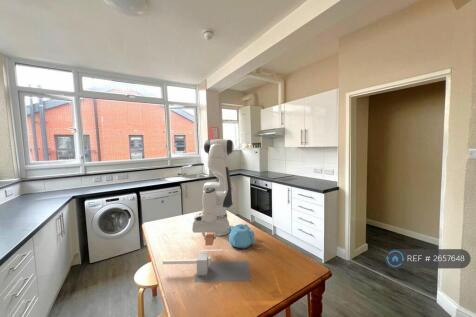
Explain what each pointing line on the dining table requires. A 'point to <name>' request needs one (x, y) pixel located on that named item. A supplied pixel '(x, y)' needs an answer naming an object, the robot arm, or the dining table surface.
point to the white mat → (212, 250)
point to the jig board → (221, 270)
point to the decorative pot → (241, 236)
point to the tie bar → (185, 261)
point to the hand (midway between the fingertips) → (210, 239)
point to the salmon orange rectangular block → (209, 238)
